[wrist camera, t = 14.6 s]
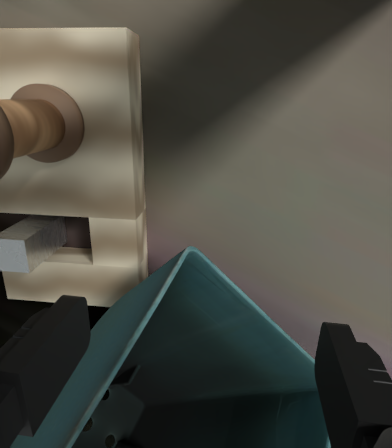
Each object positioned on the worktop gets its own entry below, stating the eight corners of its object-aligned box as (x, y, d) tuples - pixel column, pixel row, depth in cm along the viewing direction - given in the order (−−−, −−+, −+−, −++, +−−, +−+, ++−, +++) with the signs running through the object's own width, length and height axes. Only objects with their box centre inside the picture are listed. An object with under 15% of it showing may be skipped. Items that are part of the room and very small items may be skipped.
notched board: (-17, 36, 34) (-48, 28, 30) (139, 35, 32) (126, 27, 29) (27, 281, 44) (7, 298, 40) (148, 290, 42) (140, 309, 38)
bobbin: (8, 83, 32) (-119, 75, 20) (80, 84, 31) (-10, 76, 20) (20, 159, 34) (-87, 189, 23) (88, 162, 33) (11, 194, 22)
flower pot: (-57, 469, 34) (-1, 551, 14) (71, 310, 48) (192, 239, 28) (95, 562, 38) (299, 724, 19) (173, 393, 52) (339, 382, 32)
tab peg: (39, 239, 42) (-4, 270, 34) (35, 212, 40) (-11, 238, 33) (67, 241, 41) (29, 273, 34) (64, 214, 40) (23, 240, 33)
